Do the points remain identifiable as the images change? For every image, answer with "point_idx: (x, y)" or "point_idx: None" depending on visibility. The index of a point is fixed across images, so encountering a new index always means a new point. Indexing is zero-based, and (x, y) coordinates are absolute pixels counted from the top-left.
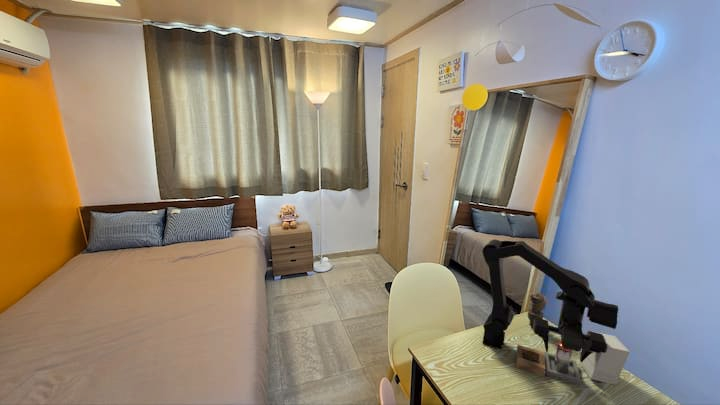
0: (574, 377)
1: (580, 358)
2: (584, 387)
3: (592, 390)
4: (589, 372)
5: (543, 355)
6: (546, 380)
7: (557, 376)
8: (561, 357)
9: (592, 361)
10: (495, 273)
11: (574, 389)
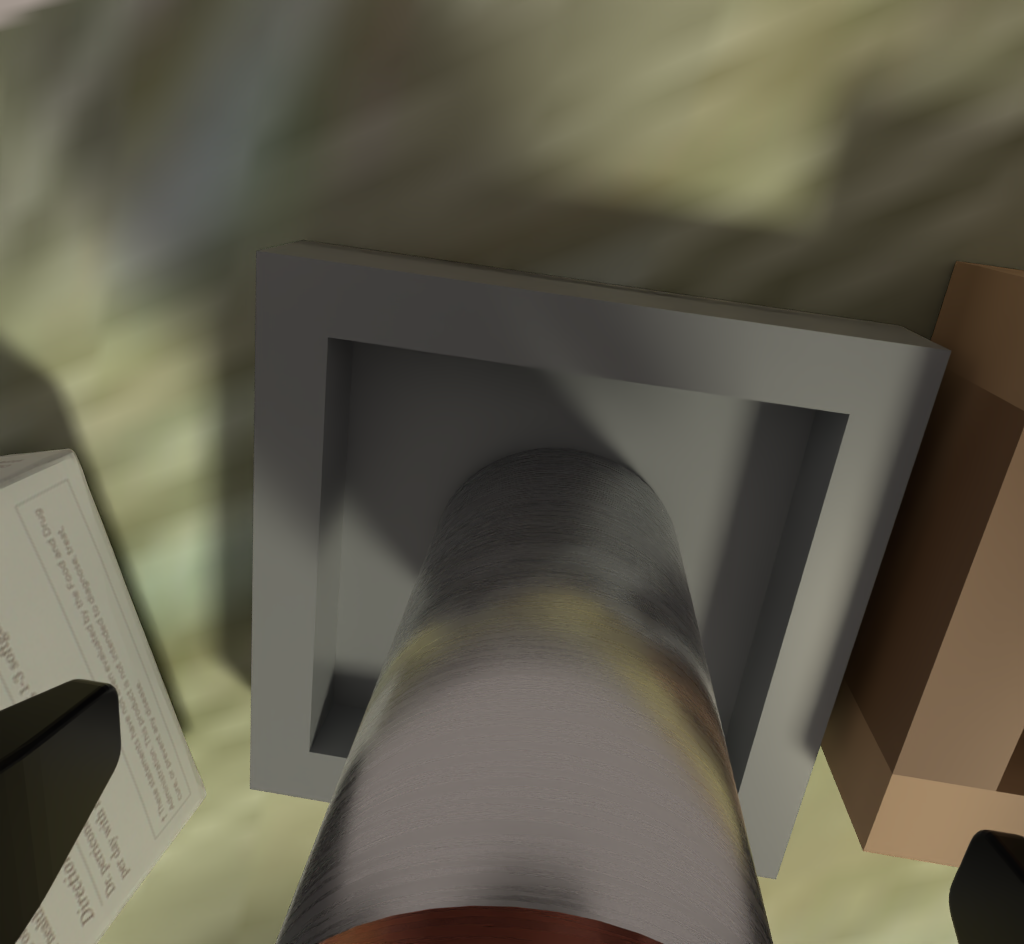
0: (364, 330)
1: (74, 781)
2: (226, 233)
3: (102, 205)
4: (54, 557)
5: (915, 755)
6: (945, 153)
7: (695, 306)
8: (638, 690)
9: None
10: None
11: (420, 95)
